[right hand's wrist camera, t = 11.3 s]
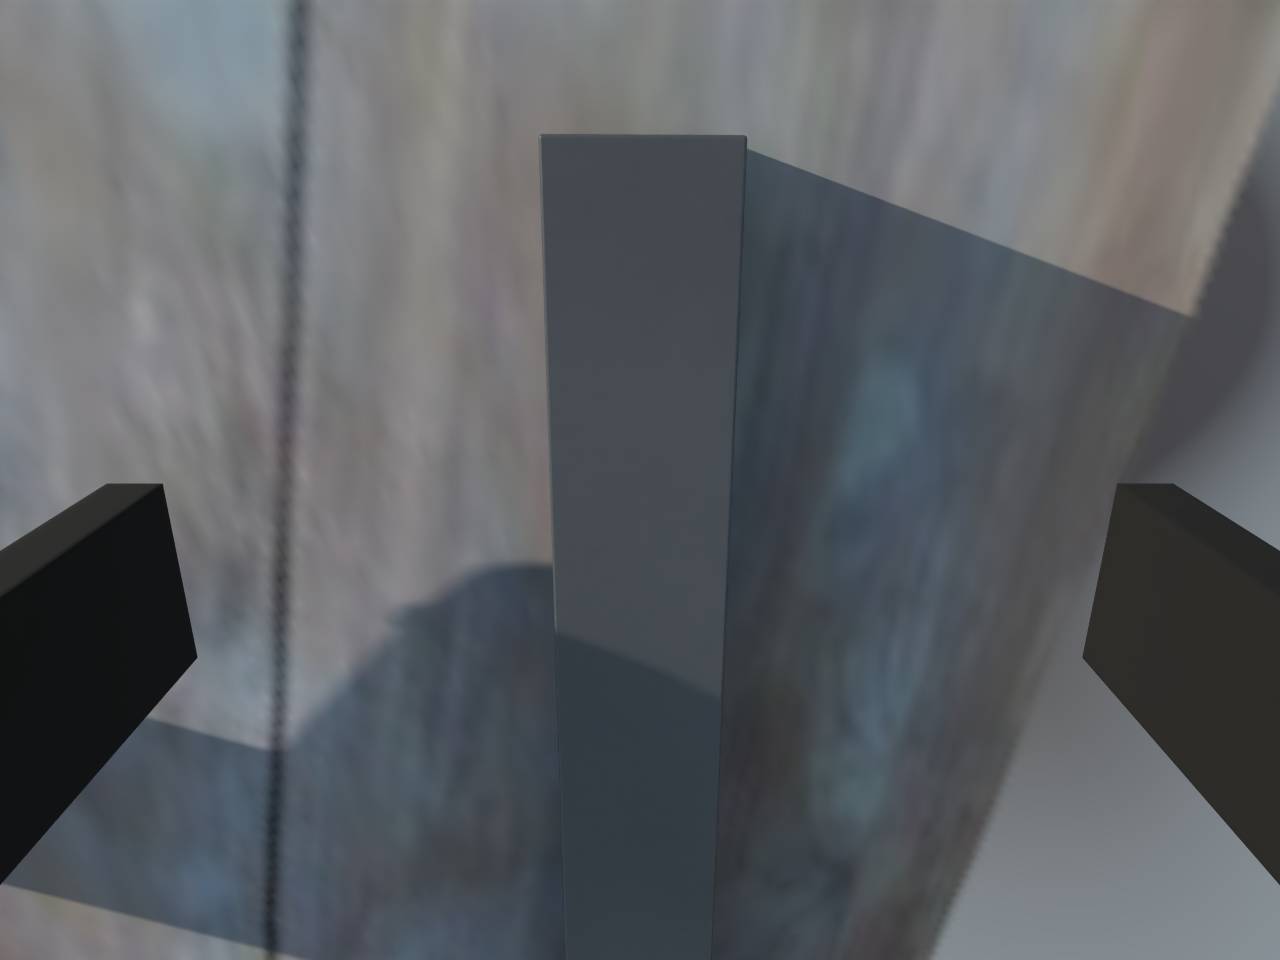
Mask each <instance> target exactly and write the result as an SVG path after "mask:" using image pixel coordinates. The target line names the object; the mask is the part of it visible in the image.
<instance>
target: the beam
mask: <svg viewBox="0 0 1280 960" xmlns="http://www.w3.org/2000/svg"><path fill="white" fill-rule="evenodd" d="M746 155H747V137H746V136H744V135H595V134H541V135H540V136H539V165H540V195H541V226H542V256H543V287H544V317H545V348H546V378H547V409H548V439H549V469H550V500H551V530H552V561H553V591H554V622H555V652H556V683H557V713H558V744H559V774H560V805H561V835H562V866H563V896H564V927H565V957H566V960H711V956H712V933H713V910H714V887H715V864H716V841H717V818H718V796H719V773H720V750H721V727H722V704H723V681H724V658H725V635H726V612H727V590H728V567H729V544H730V521H731V498H732V475H733V452H734V429H735V407H736V384H737V361H738V338H739V315H740V292H741V269H742V246H743V223H744V201H745V178H746Z"/></svg>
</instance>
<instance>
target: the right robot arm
mask: <svg viewBox="0 0 1280 960" xmlns="http://www.w3.org/2000/svg"><path fill="white" fill-rule="evenodd" d="M197 658H198V657H197V652H196V647H195V642H194V638H193V633H192V628H191V623H190V618H189V613H188V608H187V603H186V598H185V593H184V588H183V583H182V578H181V573H180V568H179V563H178V558H177V553H176V548H175V543H174V538H173V533H172V528H171V523H170V518H169V513H168V508H167V503H166V498H165V493H164V488H163V484H106V485H104V486H102V487H101V488H99V489H98V490H96V491H94V492H93V493H91V494H90V495H88V496H87V497H85V498H83V499H82V500H80V501H79V502H77V503H75V504H74V505H72V506H71V507H69V508H68V509H66V510H64V511H63V512H61V513H60V514H58V515H56V516H55V517H53V518H52V519H50V520H48V521H47V522H45V523H44V524H42V525H41V526H39V527H37V528H36V529H34V530H33V531H31V532H29V533H28V534H26V535H25V536H23V537H22V538H20V539H18V540H17V541H15V542H14V543H12V544H10V545H9V546H7V547H6V548H4V549H3V550H1V551H0V885H1V883H2V882H3V881H4V880H5V879H6V878H7V877H8V875H9V874H10V873H11V872H12V871H13V870H14V869H15V867H16V866H17V865H18V864H19V863H20V862H21V860H22V859H23V858H24V857H25V856H26V855H27V854H28V852H29V851H30V850H31V849H32V848H33V847H34V845H35V844H36V843H37V842H38V841H39V840H40V839H41V837H42V836H43V835H44V834H45V833H46V832H47V830H48V829H49V828H50V827H51V826H52V825H53V824H54V822H55V821H56V820H57V819H58V818H59V817H60V815H61V814H62V813H63V812H64V811H65V810H66V809H67V807H68V806H69V805H70V804H71V803H72V802H73V800H74V799H75V798H76V797H77V796H78V795H79V794H80V792H81V791H82V790H83V789H84V788H85V787H86V786H87V784H88V783H89V782H90V781H91V780H92V779H93V777H94V776H95V775H96V774H97V773H98V772H99V771H100V769H101V768H102V767H103V766H104V765H105V764H106V762H107V761H108V760H109V759H110V758H111V757H112V756H113V754H114V753H115V752H116V751H117V750H118V749H119V747H120V746H121V745H122V744H123V743H124V742H125V741H126V739H127V738H128V737H129V736H130V735H131V734H132V732H133V731H134V730H135V729H136V728H137V727H138V726H139V724H140V723H141V722H142V721H143V720H144V719H145V717H146V716H147V715H148V714H149V713H150V712H151V711H152V709H153V708H154V707H155V706H156V705H157V704H158V703H159V701H160V700H161V699H162V698H163V697H164V696H165V694H166V693H167V692H168V691H169V690H170V689H171V688H172V686H173V685H174V684H175V683H176V682H177V681H178V679H179V678H180V677H181V676H182V675H183V674H184V673H185V671H186V670H187V669H188V668H189V667H190V666H191V664H192V663H193V662H194V661H195V660H196V659H197ZM1083 659H1084V660H1085V661H1086V662H1087V663H1088V664H1089V666H1090V667H1091V668H1092V669H1093V670H1094V671H1095V673H1096V674H1097V675H1098V676H1099V677H1100V678H1101V679H1102V681H1103V682H1104V683H1105V684H1106V685H1107V686H1108V688H1109V689H1110V690H1111V691H1112V692H1113V693H1114V694H1115V696H1116V697H1117V698H1118V699H1119V700H1120V701H1121V703H1122V704H1123V705H1124V706H1125V707H1126V708H1127V709H1128V711H1129V712H1130V713H1131V714H1132V715H1133V716H1134V717H1135V719H1136V720H1137V721H1138V722H1139V723H1140V724H1141V726H1142V727H1143V728H1144V729H1145V730H1146V731H1147V732H1148V734H1149V735H1150V736H1151V737H1152V738H1153V739H1154V741H1155V742H1156V743H1157V744H1158V745H1159V746H1160V747H1161V749H1162V750H1163V751H1164V752H1165V753H1166V754H1167V756H1168V757H1169V758H1170V759H1171V760H1172V761H1173V762H1174V764H1175V765H1176V766H1177V767H1178V768H1179V769H1180V771H1181V772H1182V773H1183V774H1184V775H1185V776H1186V777H1187V779H1188V780H1189V781H1190V782H1191V783H1192V784H1193V786H1194V787H1195V788H1196V789H1197V790H1198V791H1199V792H1200V794H1201V795H1202V796H1203V797H1204V798H1205V799H1206V800H1207V802H1208V803H1209V804H1210V805H1211V806H1212V807H1213V809H1214V810H1215V811H1216V812H1217V813H1218V814H1219V815H1220V817H1221V818H1222V819H1223V820H1224V821H1225V822H1226V824H1227V825H1228V826H1229V827H1230V828H1231V829H1232V830H1233V832H1234V833H1235V834H1236V835H1237V836H1238V837H1239V839H1240V840H1241V841H1242V842H1243V843H1244V844H1245V845H1246V847H1247V848H1248V849H1249V850H1250V851H1251V852H1252V853H1253V855H1254V856H1255V857H1256V858H1257V859H1258V860H1259V862H1260V863H1261V864H1262V865H1263V866H1264V867H1265V869H1266V870H1267V871H1268V872H1269V873H1270V874H1271V875H1272V877H1273V878H1274V879H1275V880H1276V881H1277V882H1278V883H1279V885H1280V551H1279V550H1277V549H1276V548H1274V547H1273V546H1271V545H1269V544H1268V543H1266V542H1265V541H1263V540H1262V539H1260V538H1258V537H1257V536H1255V535H1254V534H1252V533H1250V532H1249V531H1247V530H1246V529H1244V528H1243V527H1241V526H1239V525H1238V524H1236V523H1235V522H1233V521H1232V520H1230V519H1228V518H1227V517H1225V516H1224V515H1222V514H1220V513H1219V512H1217V511H1216V510H1214V509H1212V508H1211V507H1209V506H1208V505H1206V504H1205V503H1203V502H1201V501H1200V500H1198V499H1197V498H1195V497H1193V496H1192V495H1190V494H1189V493H1187V492H1185V491H1184V490H1182V489H1181V488H1179V487H1178V486H1176V485H1174V484H1117V488H1116V493H1115V498H1114V503H1113V508H1112V513H1111V518H1110V523H1109V528H1108V533H1107V538H1106V543H1105V548H1104V553H1103V558H1102V563H1101V568H1100V573H1099V578H1098V583H1097V588H1096V593H1095V598H1094V603H1093V608H1092V613H1091V618H1090V623H1089V628H1088V633H1087V638H1086V642H1085V647H1084V653H1083Z"/></svg>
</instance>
